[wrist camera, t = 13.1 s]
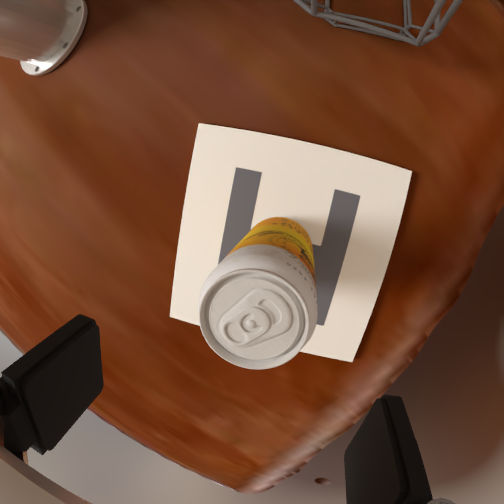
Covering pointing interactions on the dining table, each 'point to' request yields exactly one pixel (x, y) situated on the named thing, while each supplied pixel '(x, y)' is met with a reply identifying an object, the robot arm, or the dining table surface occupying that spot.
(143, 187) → the dining table surface
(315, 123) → the dining table surface
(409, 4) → the geometric lantern
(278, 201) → the letter board
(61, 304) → the dining table surface
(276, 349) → the beer can
